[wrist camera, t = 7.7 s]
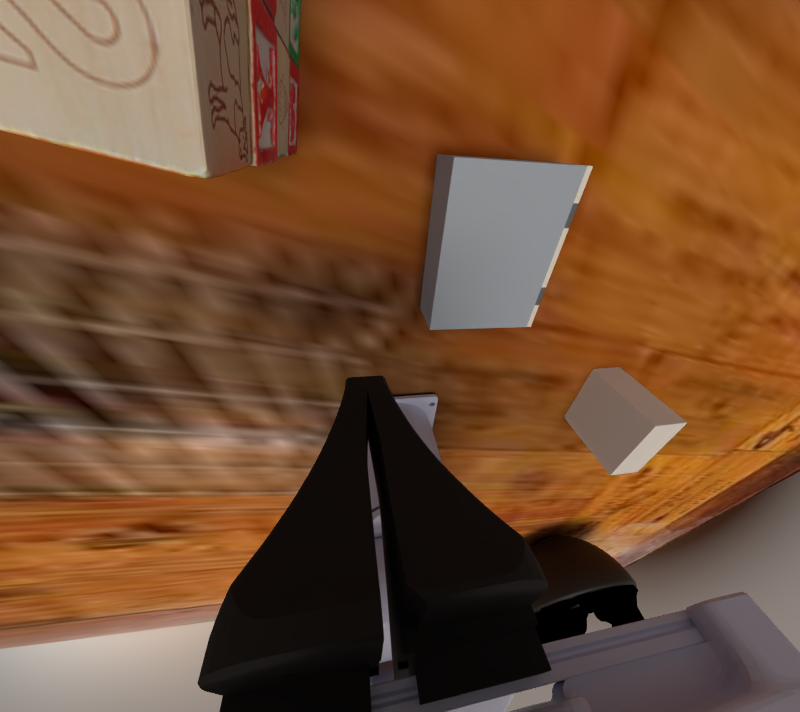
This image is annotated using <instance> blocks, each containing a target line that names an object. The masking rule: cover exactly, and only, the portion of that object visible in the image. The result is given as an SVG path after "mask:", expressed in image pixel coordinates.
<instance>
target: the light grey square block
mask: <svg viewBox="0 0 800 712" xmlns="http://www.w3.org/2000/svg"><path fill="white" fill-rule="evenodd" d="M564 418H565V419H566V421H567V422H568V423H569V424H570V426H571V427H572V428H573V429H574V431H575V432H576V433H577V434H578V436H579V437H580V438H581V439H582V441H583V442H584V443H585V444H586V446H587V447H588V448H589V449H590V451H591V452H592V453H593V454H594V456H595V457H596V458H597V459H598V461H599V462H600V463H601V464H602V466H603V467H604V468H605V469H606V471H607V472H608V473H609V474H610V475H616V474H624V473H631V472H638V471H639V470H640V469H641V468H642V467H643V466H644V465H645V464H646V463H647V462H648V461H649V460H650V459H651V458H652V457H653V456H654V455H655V454H656V453H657V452H658V451H659V450H660V449H661V448H662V447H663V446H664V445H665V444H666V443H667V442H668V441H669V440H670V439H671V438H672V437H673V436H674V435H675V434H676V433H677V432H678V431H679V430H680V429H681V428H683V427H684V426H685V425H686V424H687V422H686V421H685V420H683V419H682V418H681V417H680V416H679V415H677V414H676V413H675V412H674V411H672V410H671V409H670V408H669V407H668V406H666V405H665V404H664V403H663V402H662V401H660V400H659V399H658V398H657V397H655V396H654V395H653V394H652V393H651V392H649V391H648V390H647V389H646V388H644V387H643V386H642V385H641V384H640V383H638V382H637V381H636V380H635V379H634V378H632V377H631V376H630V375H629V374H627V373H626V372H625V371H624V370H623V369H621V368H620V367H617V368H601V369H593V370H592V372H591V374H590V375H589V377H588V379H587V380H586V382H585V383H584V385H583V387H582V388H581V390H580V392H579V393H578V395H577V397H576V398H575V400H574V402H573V403H572V405H571V407H570V408H569V410H568V411H567V413H566V415H565V416H564Z"/></svg>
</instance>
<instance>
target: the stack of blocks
mask: <svg viewBox="0 0 800 712" xmlns="http://www.w3.org/2000/svg"><path fill="white" fill-rule="evenodd" d="M300 10H301V0H0V131H3V132H8V133H12V134H16V135H20V136H24V137H28V138H32V139H36V140H40V141H44V142H48V143H52V144H56V145H61V146H65V147H69V148H73V149H77V150H81V151H85V152H89V153H93V154H97V155H101V156H105V157H109V158H113V159H117V160H122V161H126V162H130V163H134V164H138V165H142V166H146V167H150V168H155V169H159V170H163V171H167V172H171V173H176V174H180V175H184V176H189V177H198V178H207V179H210V178H214V177H218V176H222V175H224V174H226V173H228V172H233V171H236V170H239V169H241V168H244V167H246V166H248V165H250V166H262V165H266V164H268V163H271V162H274V161H276V160H277V158H279V157H281V156H289V155H292V154H295V153H296V149H297V124H298V94H299V71H298V59H299V34H300Z"/></svg>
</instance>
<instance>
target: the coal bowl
mask: <svg viewBox="0 0 800 712" xmlns="http://www.w3.org/2000/svg"><path fill="white" fill-rule="evenodd" d="M530 549H531V550H532V552H533V554H534V556H535V557H536V559H537V561H538V562H539V564H540V566H541V568H542V571H543V573H544V575H545V577H546V579H547V581H548V589H547V591H546V592H545V594H544V595H543V596H541V597H540V598H539V599H538V600H536V601H535V602H534V603H533V604H531V606H532V608H533V611H534V613H535V616H536V618H537V622H538V625H536V626H535V628H536V631H537V634H538V636H539V639H540V641H541V644H545V643H549V642H553V641H557V640H562V639H566V638H570V637H574V636H578V635H583V634H585V632H586V630H587V617H588V614H589V613H593V612H594V614H595V615H596V617H597V618H598V619H599V620H600V621H606V622H608V623H610V624H612V627H616V626H620V625H624V624H629V623H633V622H637V621H641V620H645V619H644V618H643V616H642V614H641V613H640V611H639V609H638V607H637V597H636V596H637V592H638V589H637V588H636V582H635V581H634V580H633V579H632V577H631V576H630V575H629V574H628V572H627V571H626V570H625V569H624V568H623V567H622V566H621V565H620V564H619V563H618V562H617V561H616V560H615V559H614V558H613V557H611V556H610V555H609V554H607V553H606V552H605V551H603V550H602V549H600V548H598V547H597V546H595V545H593V544H591V543H589V542H586V541H584V540H581V539H578V538H574V537H568V536H554V537H549V538H546V539H543V540H541V541H539V542H537V543H536V544H534V545H533V546H532V547H531V548H530Z"/></svg>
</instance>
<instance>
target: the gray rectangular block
mask: <svg viewBox="0 0 800 712" xmlns="http://www.w3.org/2000/svg"><path fill="white" fill-rule="evenodd" d="M592 168H593V166H585V165H576V164H567V163H558V162H544V161H529V160H515V159H500V158H485V157H471V156H456V155H442V154H437V160H436V169H435V178H434V187H433V196H432V205H431V214H430V223H429V232H428V241H427V249H426V258H425V267H424V276H423V285H422V294H421V303H420V309H421V311H422V314H423V316H424V318H425V320H426V323H427V325H428V327H429V329H430V330H442V329H474V328H506V327H531V325H532V322H533V319H534V317H535V314H536V312H537V309H538V307H539V304H540V301H541V299H542V296H543V294H544V291H545V289H546V286H547V283H548V281H549V278H550V276H551V273H552V270H553V268H554V265H555V263H556V260H557V258H558V255H559V252H560V250H561V247H562V245H563V242H564V240H565V237H566V234H567V232H568V229H569V227H570V224H571V222H572V219H573V216H574V214H575V211H576V209H577V206H578V204H579V201H580V198H581V196H582V193H583V191H584V188H585V186H586V183H587V180H588V178H589V175H590V173H591V170H592Z"/></svg>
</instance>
